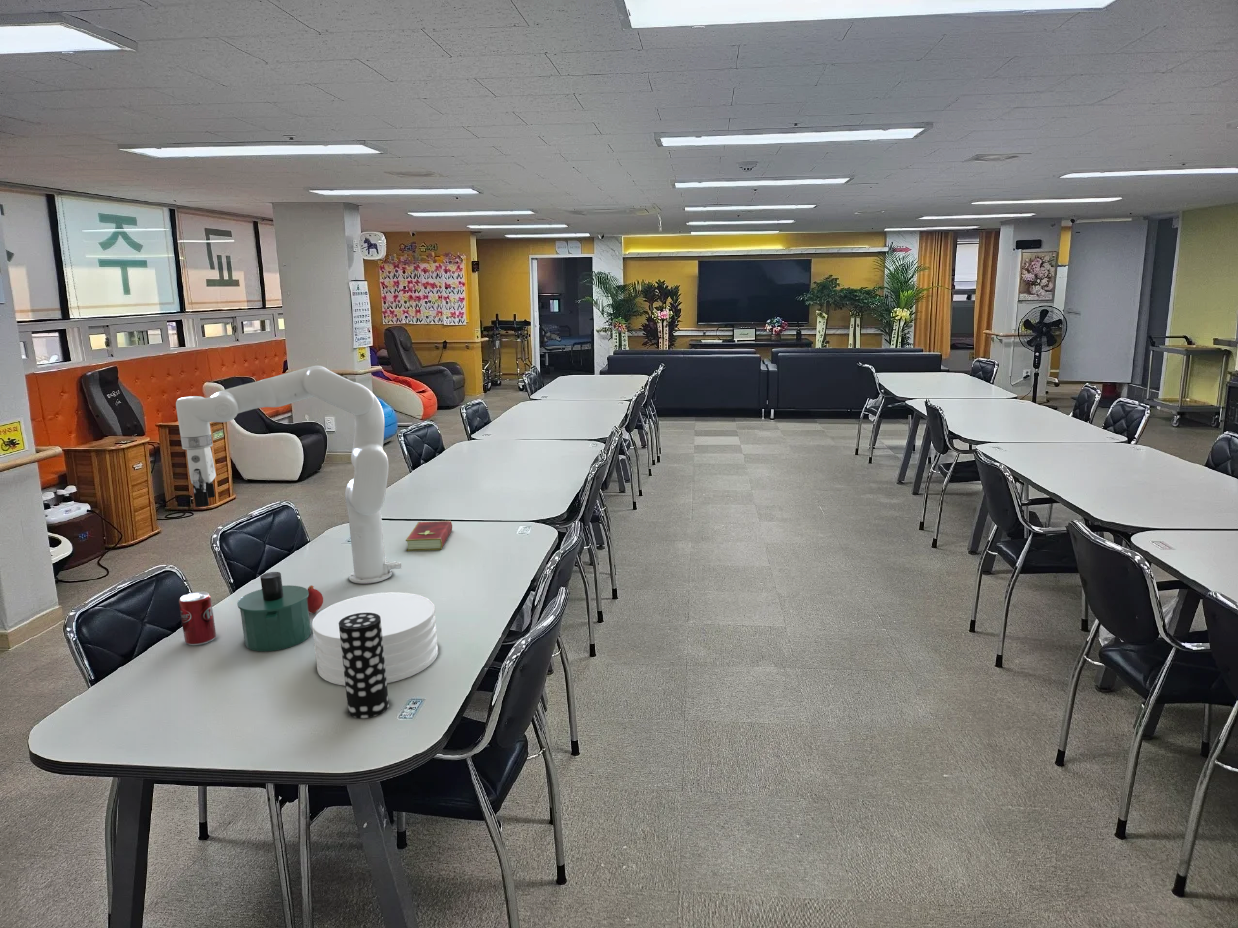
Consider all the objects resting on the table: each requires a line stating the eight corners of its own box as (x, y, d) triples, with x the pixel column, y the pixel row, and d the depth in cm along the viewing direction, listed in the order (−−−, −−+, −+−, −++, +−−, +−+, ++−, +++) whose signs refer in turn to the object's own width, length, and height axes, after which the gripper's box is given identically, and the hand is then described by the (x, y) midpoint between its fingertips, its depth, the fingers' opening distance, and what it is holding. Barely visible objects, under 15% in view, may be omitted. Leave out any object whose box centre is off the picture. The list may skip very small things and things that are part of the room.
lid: (310, 586, 219) (307, 560, 218) (307, 608, 204) (304, 581, 202) (241, 594, 214) (238, 568, 213) (233, 619, 199) (230, 591, 197)
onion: (317, 617, 223) (313, 590, 222) (297, 616, 224) (294, 589, 223) (328, 609, 229) (325, 582, 227) (309, 608, 230) (306, 581, 228)
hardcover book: (452, 531, 298) (451, 520, 297) (442, 549, 278) (441, 537, 277) (419, 532, 298) (418, 521, 297) (406, 551, 277) (405, 539, 277)
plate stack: (373, 697, 179) (369, 649, 177) (291, 668, 194) (286, 623, 191) (462, 648, 202) (458, 604, 200) (382, 625, 217) (378, 585, 214)
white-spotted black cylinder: (353, 699, 179) (344, 613, 174) (392, 697, 179) (383, 611, 175) (344, 719, 170) (334, 629, 166) (384, 716, 171) (376, 627, 167)
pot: (312, 618, 223) (307, 581, 221) (309, 649, 204) (304, 610, 202) (250, 626, 219) (245, 589, 216) (240, 660, 199) (235, 619, 197)
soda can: (185, 648, 206) (178, 603, 204) (185, 638, 213) (178, 594, 210) (217, 642, 210) (210, 598, 207) (216, 632, 216) (209, 589, 213)
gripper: (206, 446, 218) (215, 508, 222) (217, 435, 234) (225, 493, 238) (174, 448, 216) (184, 511, 220) (188, 437, 232) (197, 495, 236)
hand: (205, 501), depth 229 cm, fingers open, 9 cm apart
